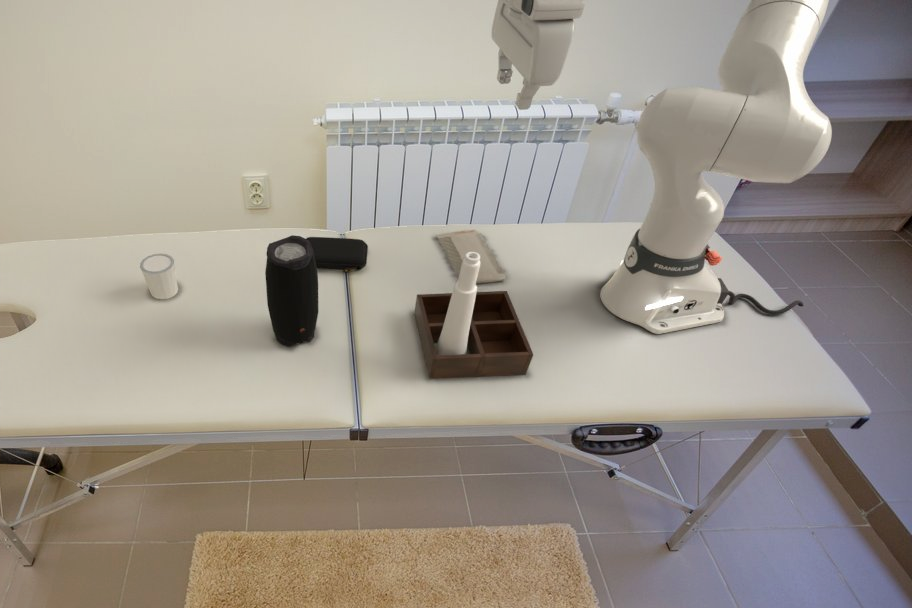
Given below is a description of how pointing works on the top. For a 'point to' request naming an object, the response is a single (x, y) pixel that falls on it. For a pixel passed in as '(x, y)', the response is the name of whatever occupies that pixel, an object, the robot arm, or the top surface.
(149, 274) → the shot glass
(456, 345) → the cosmetic bottle
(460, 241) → the grooming comb
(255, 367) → the top surface
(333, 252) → the carrying case
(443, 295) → the organiser
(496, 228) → the top surface
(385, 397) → the top surface
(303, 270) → the portable speaker
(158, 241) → the top surface
